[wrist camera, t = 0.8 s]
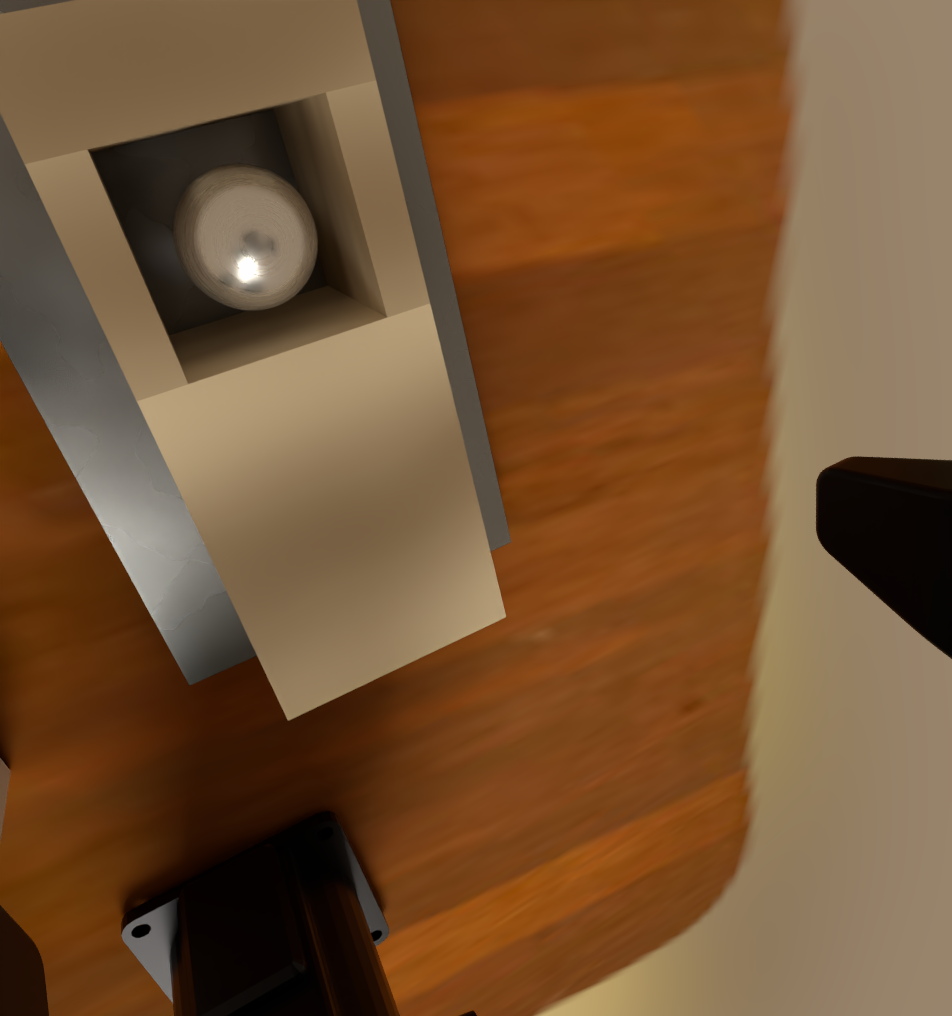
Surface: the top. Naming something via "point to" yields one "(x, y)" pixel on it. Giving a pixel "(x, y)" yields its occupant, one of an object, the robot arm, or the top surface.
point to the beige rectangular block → (273, 331)
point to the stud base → (199, 323)
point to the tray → (3, 790)
